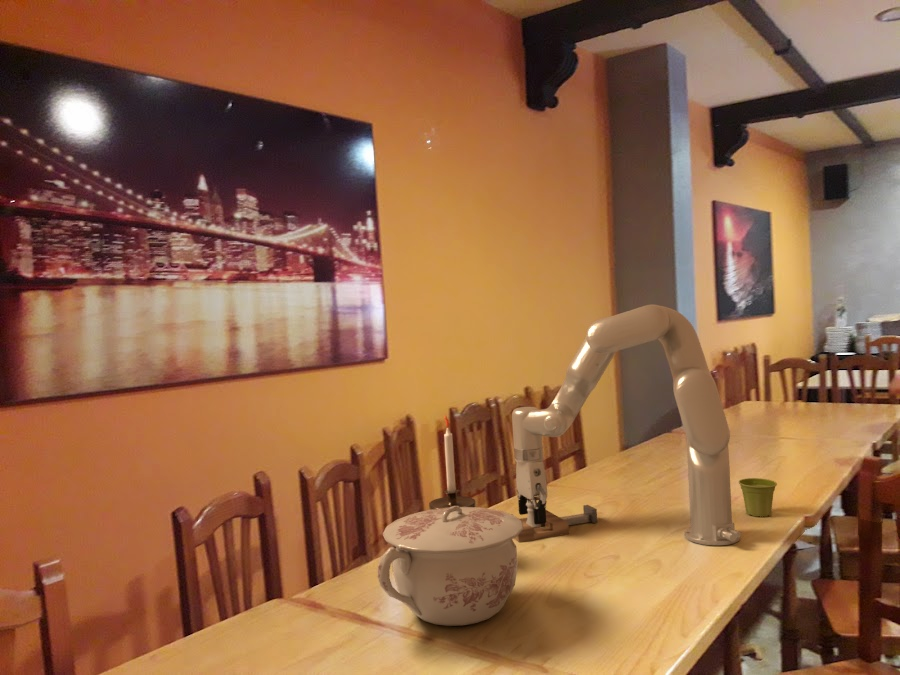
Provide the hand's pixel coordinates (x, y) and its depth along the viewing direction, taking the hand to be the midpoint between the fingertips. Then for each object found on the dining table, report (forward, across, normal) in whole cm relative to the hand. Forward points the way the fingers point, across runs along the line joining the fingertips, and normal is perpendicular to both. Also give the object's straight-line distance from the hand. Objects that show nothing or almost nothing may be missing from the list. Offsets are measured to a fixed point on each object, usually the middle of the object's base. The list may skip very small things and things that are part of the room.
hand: (532, 518), depth 182 cm
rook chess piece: (+3, 0, 0) cm, 3 cm away
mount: (+3, 0, 0) cm, 3 cm away
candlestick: (+3, -14, +26) cm, 30 cm away
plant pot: (+4, -16, -59) cm, 61 cm away
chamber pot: (+3, -39, +34) cm, 52 cm away
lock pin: (+3, 0, -11) cm, 12 cm away
